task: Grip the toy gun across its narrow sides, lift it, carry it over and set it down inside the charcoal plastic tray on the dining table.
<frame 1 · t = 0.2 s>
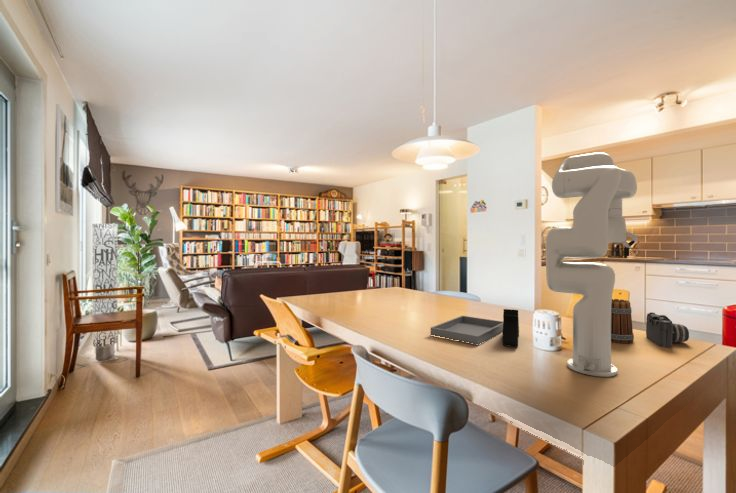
hand: (610, 257, 135), 31 cm above the table, tool pointing down, fingers open, 9 cm apart
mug: (609, 340, 131), on the table
camera: (668, 343, 126), on the table
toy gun: (511, 341, 131), on the table
tray: (469, 333, 142), on the table
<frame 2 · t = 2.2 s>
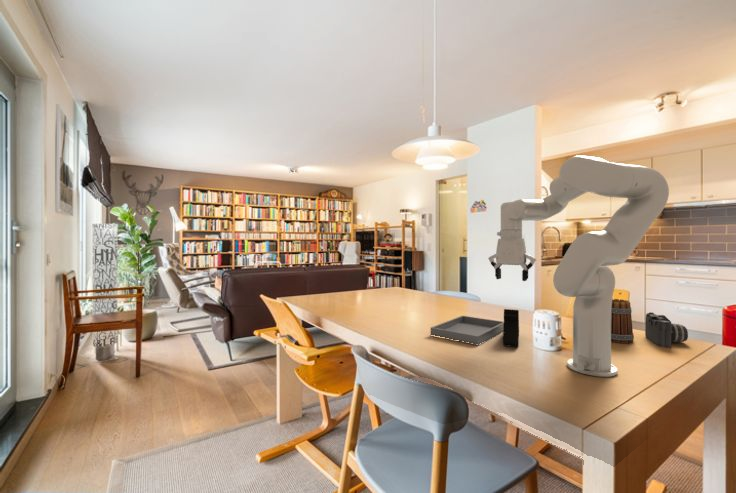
hand: (511, 279, 130), 23 cm above the table, tool pointing down, fingers open, 9 cm apart
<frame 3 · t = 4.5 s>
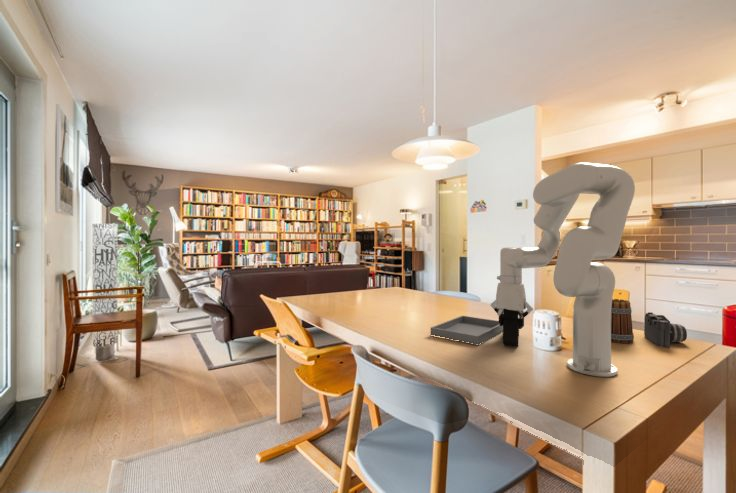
hand: (511, 326, 131), 5 cm above the table, tool pointing down, fingers closed on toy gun, 6 cm apart
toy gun: (511, 341, 131), on the table, touching gripper
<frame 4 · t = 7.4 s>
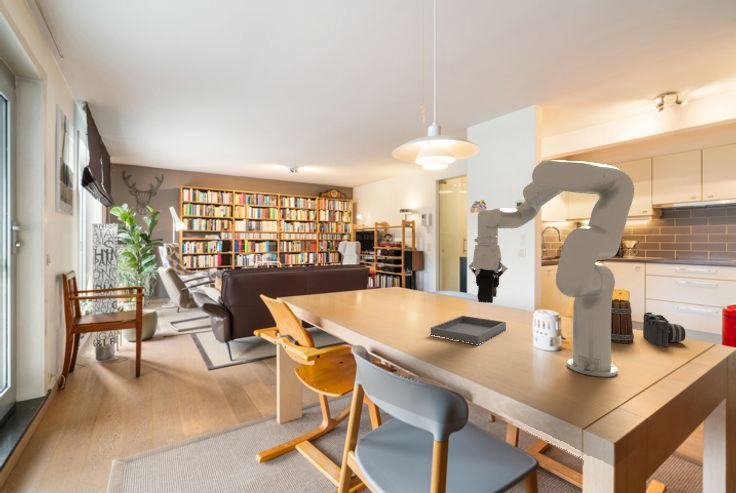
hand: (487, 286, 137), 20 cm above the table, tool pointing down, fingers closed on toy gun, 6 cm apart
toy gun: (487, 300, 137), point 14 cm above the table, touching gripper
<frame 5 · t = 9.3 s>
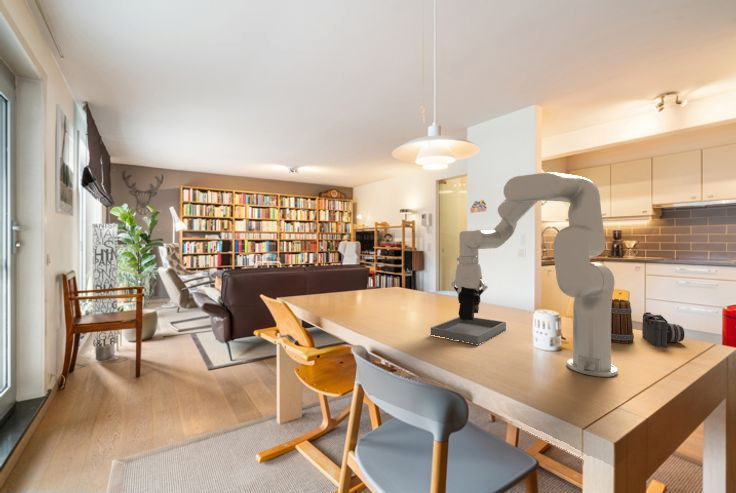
hand: (469, 303, 142), 12 cm above the table, tool pointing down, fingers closed on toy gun, 6 cm apart
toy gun: (469, 317, 142), point 7 cm above the table, touching gripper
when the fingers open (7 cm above the table, at t = 10.7 s): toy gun drops 1 cm, resting on tray.
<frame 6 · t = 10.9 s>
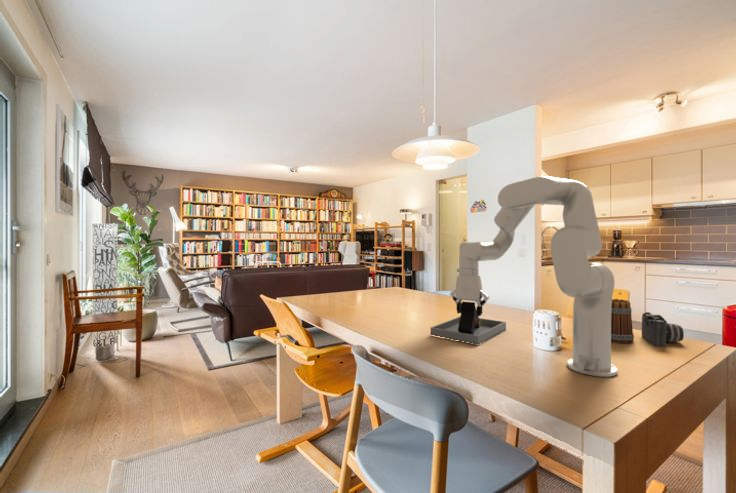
hand: (469, 314, 142), 8 cm above the table, tool pointing down, fingers open, 8 cm apart
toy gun: (469, 331, 142), point 1 cm above the table, touching tray
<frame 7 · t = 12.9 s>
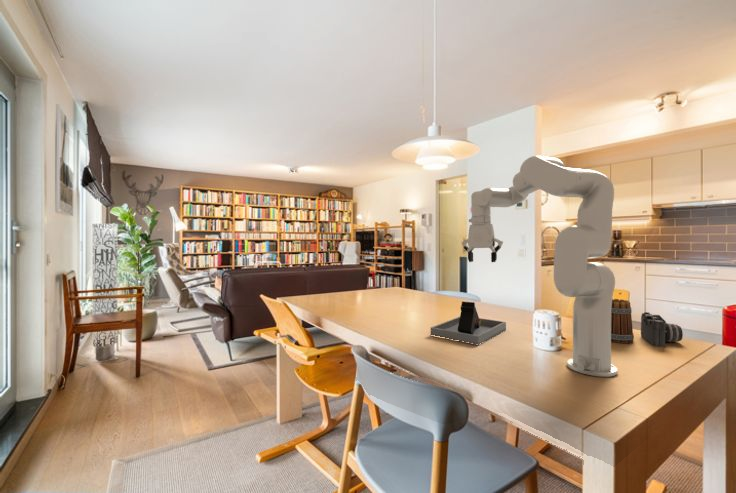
hand: (482, 261, 143), 29 cm above the table, tool pointing down, fingers open, 9 cm apart
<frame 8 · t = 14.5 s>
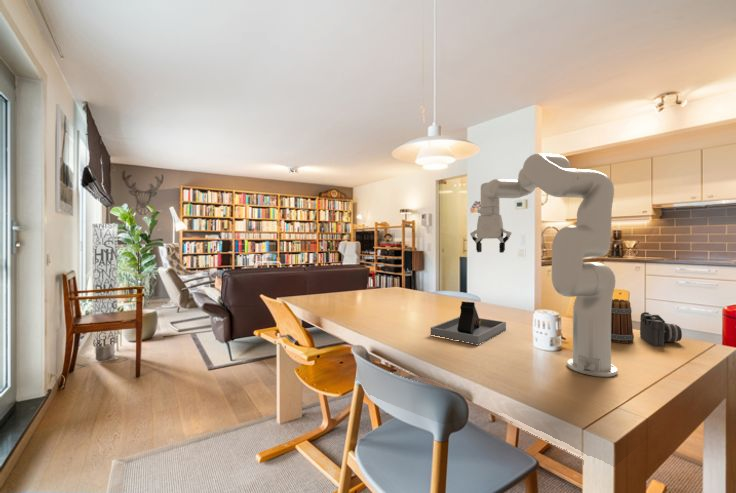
hand: (490, 252, 145), 33 cm above the table, tool pointing down, fingers open, 9 cm apart
at the end: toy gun inside the target area on the tray (0.1 cm from its centre), point 0.6 cm above the tray's base; the gripper is holding nothing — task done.
